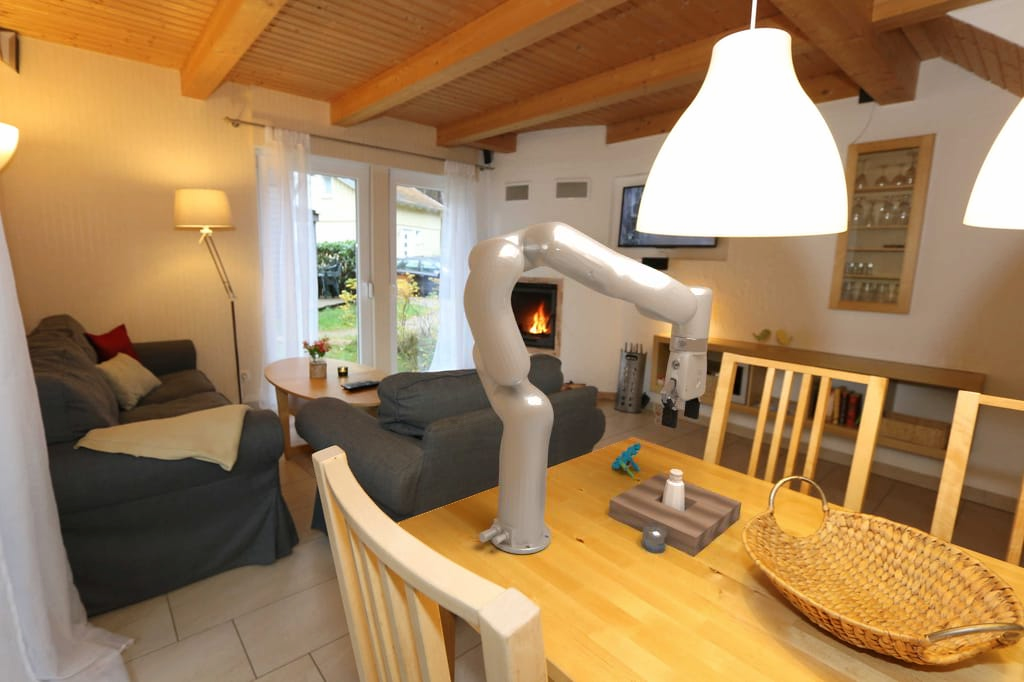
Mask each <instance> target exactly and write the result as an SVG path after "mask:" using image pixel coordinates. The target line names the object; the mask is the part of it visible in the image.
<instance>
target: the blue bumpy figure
mask: <svg viewBox="0 0 1024 682" xmlns="http://www.w3.org/2000/svg"><path fill="white" fill-rule="evenodd" d="M640 450H642V444H641V443H640V442H638V443H634V444H633V445H629V447H627V449H626V450H623V451H622V452H620V456H619V455H618V456H617V457H615V460H614V461H613V462H612V463H611V468H612V469H613V470H615V469H616V470H618V469H620V467H622V470H623V471H624V472H627V473H628V474H629V476H630V477H632V478H633V477H634V476H635V475H634V473H632V471H631V470H630V467H631V466H632V467H633V469H635V471H637V472H639V470H641V469H640V467H639V466H638V465H637V463H636V462H635V461H634V458H633V456H634V457H635V456H637V454H639V452H638V451H640Z"/></svg>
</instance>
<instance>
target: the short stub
mask: <svg viewBox="0 0 1024 682" xmlns="http://www.w3.org/2000/svg"><path fill="white" fill-rule="evenodd" d="M666 540H667V529H666V528H665V527H664V526H663V525H660V524H657V523H647V524H645V525H644V527H643V532H642V540H641V541H642V542H641V548H643V550H645V551H646V552H648V553H650V554H655V555H657V554H658V555H659V554H663V553H665V551H666V549H667V544H666Z"/></svg>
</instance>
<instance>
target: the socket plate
mask: <svg viewBox="0 0 1024 682" xmlns="http://www.w3.org/2000/svg"><path fill="white" fill-rule="evenodd" d="M668 479H670V474H666V473H664V472H659V473H656V475H653V476H651V477H649V478H648V479H646V480H644V481H642V482H640V483H639V484H636V485H634V486H632V487H630V488H629V489H627V490H625V491H623V492H621V493H620V494H618V495H616V496H614V497H612V498H611V499H609V507H608V517H609V518H612V519H614V520H616V521H618V522H620V523H622V524H624V525H626V526H628V527H631V528H633V529H635V530H636V531H639V532H641V533H643V527H644V525H645V524H647V523H657V524H660V525H663V526H664V527H665V528H666V529H667V540H666V545H669V546H670V547H673V548H675V549H676V550H678V551H681V552H682V553H685V554H687V555H690V556H691V557H693V558H694V557H696V555H698V554H699V553H700V552H701V551H703V550H704V549H705V548H706V547H707V546H708V545H710V544H711V543H712V542H714V540H716V539H717V538H718V537H719V536H720V535H723V533H724V532H725V531H726V530H728V529H729V528H730V527H731V526H733V525H735V523H736V522H737V521H739V520H740V516H741V507H742V502H741V501H739V500H736V499H733V498H731V497H728V496H725V495H723V494H720V493H717V492H714V491H712V490H709V489H706V488H705V487H702V486H698V485H696V484H693V483H690V482H687V481H686V480H683V479H682V482H683V483H684V511H683V512H682V511H680V510H677V509H675V508H672V507H670V506H668V505H665V504H663V503H662V499H663V495H664V490H665V485H666V481H667V480H668Z"/></svg>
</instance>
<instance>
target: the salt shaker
mask: <svg viewBox="0 0 1024 682" xmlns="http://www.w3.org/2000/svg"><path fill="white" fill-rule="evenodd" d="M683 475H684V472H683V471H682V470H680V469H677V468H671V469H669V476H670V479H668V480H667V481H666V485H665V490H664V495H663V499H662V503H663V504H665V505H668V506H670V507H672V508H675V509H677V510H680V511H682V512H683V511H684V483H683V482H682V480H683Z"/></svg>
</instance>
